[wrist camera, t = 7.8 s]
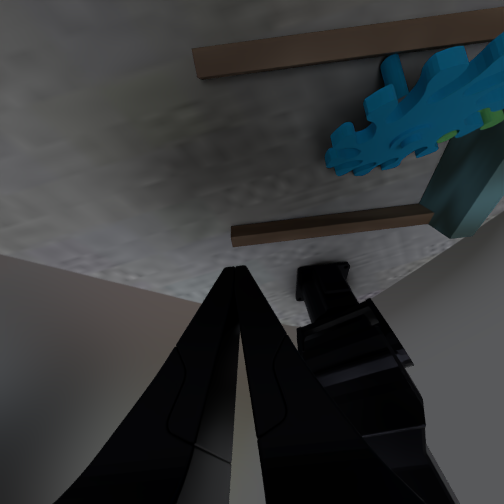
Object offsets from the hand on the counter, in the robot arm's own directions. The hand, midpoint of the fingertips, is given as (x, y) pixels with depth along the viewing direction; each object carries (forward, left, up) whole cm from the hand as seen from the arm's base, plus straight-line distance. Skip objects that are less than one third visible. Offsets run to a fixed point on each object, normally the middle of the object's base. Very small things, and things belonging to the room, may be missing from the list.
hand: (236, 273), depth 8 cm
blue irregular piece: (+3, -12, -12) cm, 17 cm away
